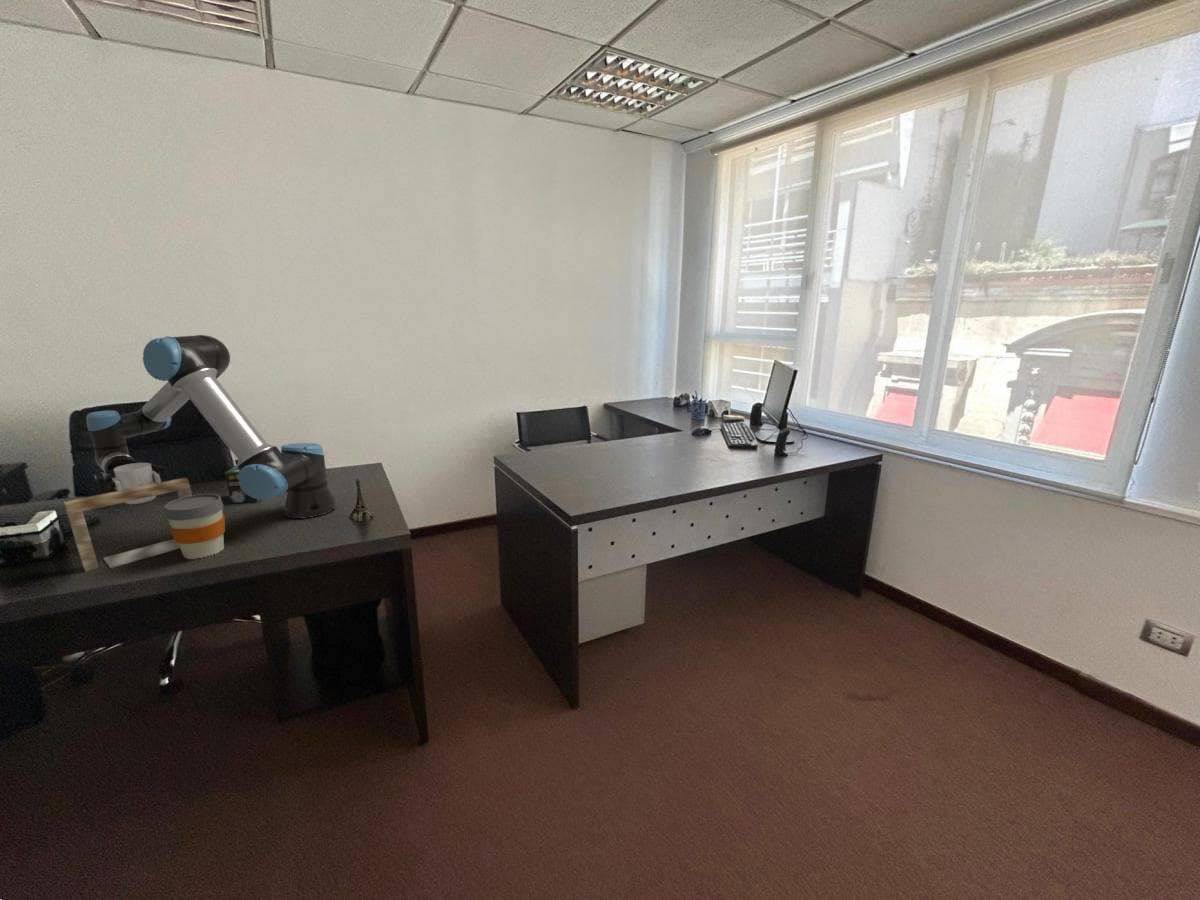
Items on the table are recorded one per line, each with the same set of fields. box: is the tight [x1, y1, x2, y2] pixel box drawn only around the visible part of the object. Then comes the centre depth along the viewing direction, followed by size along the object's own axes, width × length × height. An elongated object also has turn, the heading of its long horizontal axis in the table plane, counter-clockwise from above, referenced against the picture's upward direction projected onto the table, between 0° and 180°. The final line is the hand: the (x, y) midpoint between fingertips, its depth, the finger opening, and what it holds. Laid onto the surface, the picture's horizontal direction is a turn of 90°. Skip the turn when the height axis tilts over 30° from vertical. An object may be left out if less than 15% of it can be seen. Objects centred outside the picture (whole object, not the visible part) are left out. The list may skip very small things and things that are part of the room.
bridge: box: [63, 477, 193, 572], centre depth 136 cm, size 24×8×18 cm, turn 142°
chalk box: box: [224, 459, 261, 504], centre depth 176 cm, size 9×9×15 cm
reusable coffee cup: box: [164, 493, 226, 560], centre depth 138 cm, size 13×13×15 cm
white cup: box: [113, 462, 157, 505], centre depth 142 cm, size 8×8×10 cm
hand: (139, 483), depth 139 cm, fingers closed on white cup, 7 cm apart
